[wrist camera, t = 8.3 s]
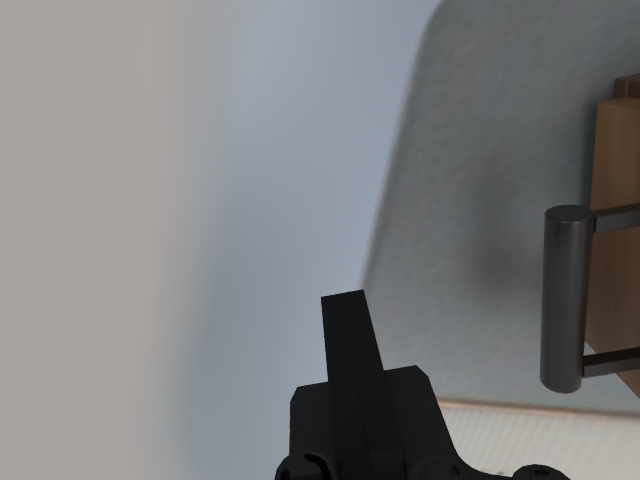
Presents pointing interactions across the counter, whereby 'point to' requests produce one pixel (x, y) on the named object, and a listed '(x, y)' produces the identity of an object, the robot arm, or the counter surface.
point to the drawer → (596, 264)
